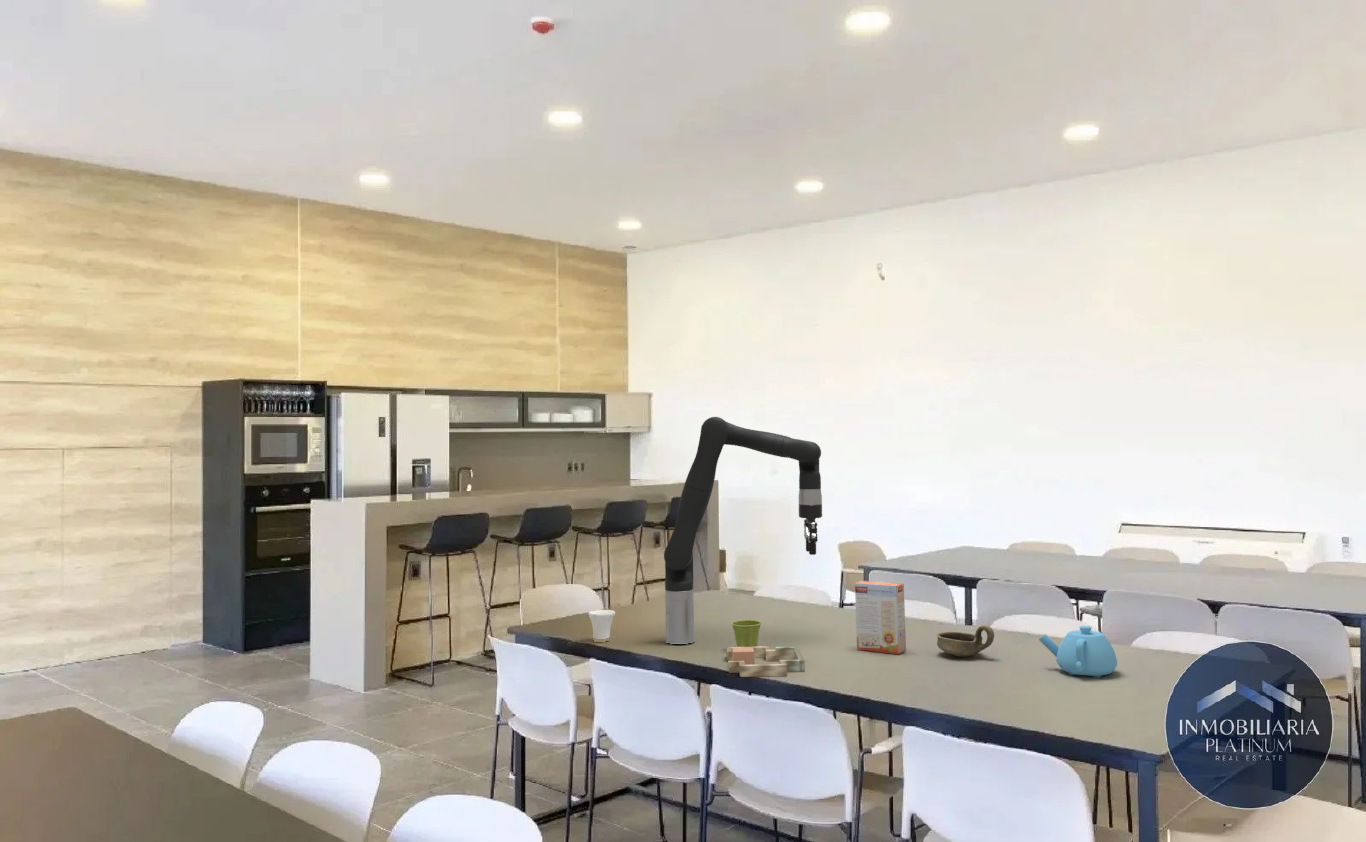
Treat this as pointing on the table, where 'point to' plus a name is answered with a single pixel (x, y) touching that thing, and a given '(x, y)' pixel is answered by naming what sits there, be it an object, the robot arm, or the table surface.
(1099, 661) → the teapot
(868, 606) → the cracker box
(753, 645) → the plant pot
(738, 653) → the block
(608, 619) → the cup
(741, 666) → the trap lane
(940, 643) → the bowl
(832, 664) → the table surface
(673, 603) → the robot arm
